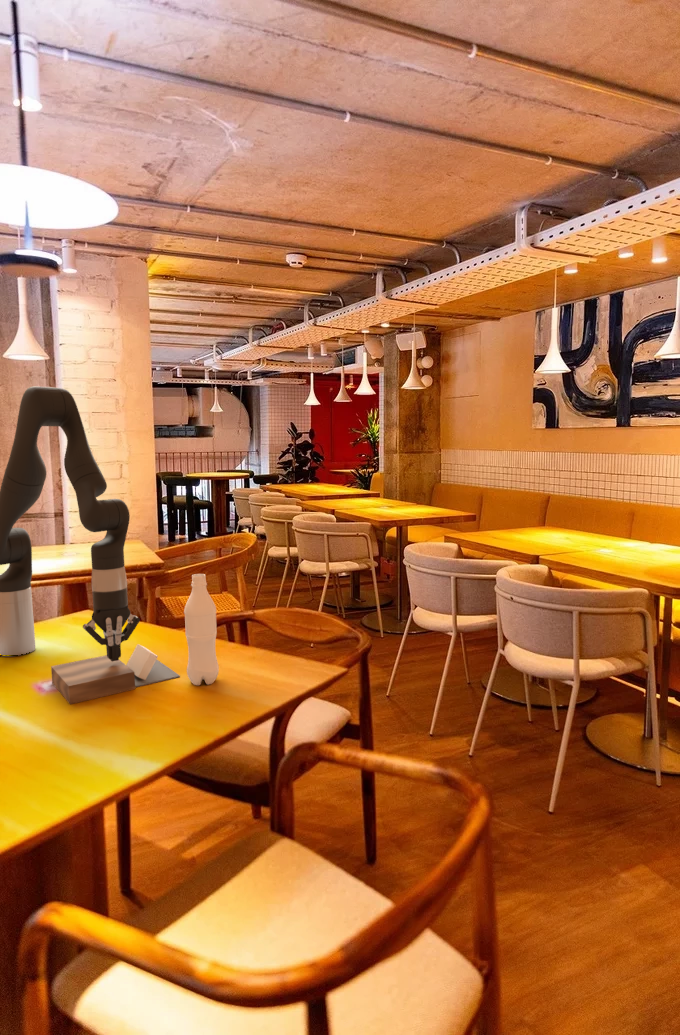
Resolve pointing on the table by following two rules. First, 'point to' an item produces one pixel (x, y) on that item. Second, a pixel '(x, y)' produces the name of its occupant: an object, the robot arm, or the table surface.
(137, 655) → the white flat block
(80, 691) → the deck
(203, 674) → the water bottle
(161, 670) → the mat
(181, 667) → the table surface
